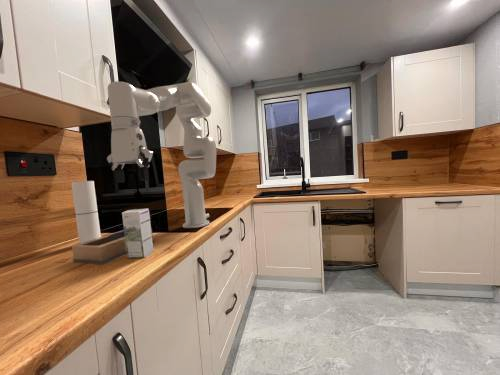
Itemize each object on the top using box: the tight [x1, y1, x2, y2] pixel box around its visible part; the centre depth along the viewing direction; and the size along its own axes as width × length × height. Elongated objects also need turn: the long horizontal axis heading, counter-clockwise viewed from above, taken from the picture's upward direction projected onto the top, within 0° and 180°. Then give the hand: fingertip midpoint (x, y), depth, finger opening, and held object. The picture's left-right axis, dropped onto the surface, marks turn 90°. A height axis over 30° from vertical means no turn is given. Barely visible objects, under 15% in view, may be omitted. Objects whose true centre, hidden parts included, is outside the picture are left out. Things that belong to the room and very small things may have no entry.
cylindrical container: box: [71, 180, 102, 244], centre depth 89 cm, size 7×7×25 cm
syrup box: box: [121, 208, 155, 259], centre depth 70 cm, size 6×6×14 cm
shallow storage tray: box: [71, 228, 154, 265], centre depth 76 cm, size 20×13×5 cm, turn 161°
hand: (132, 181), depth 69 cm, fingers open, 9 cm apart
